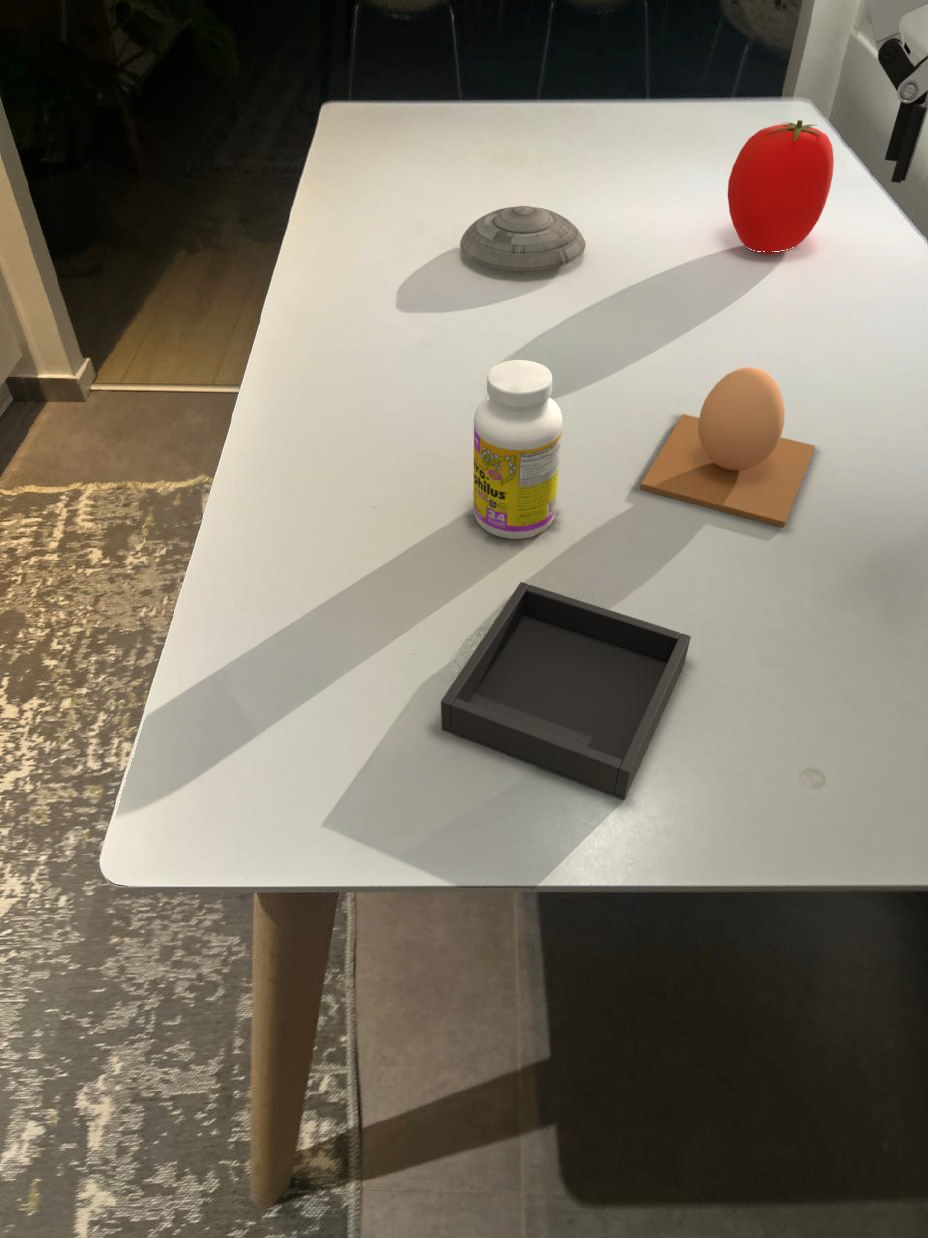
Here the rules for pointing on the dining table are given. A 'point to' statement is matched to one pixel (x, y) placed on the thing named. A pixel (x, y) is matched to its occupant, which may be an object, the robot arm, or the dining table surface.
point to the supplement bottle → (517, 451)
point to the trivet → (728, 477)
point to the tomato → (780, 186)
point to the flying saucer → (522, 240)
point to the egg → (742, 419)
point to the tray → (567, 688)
